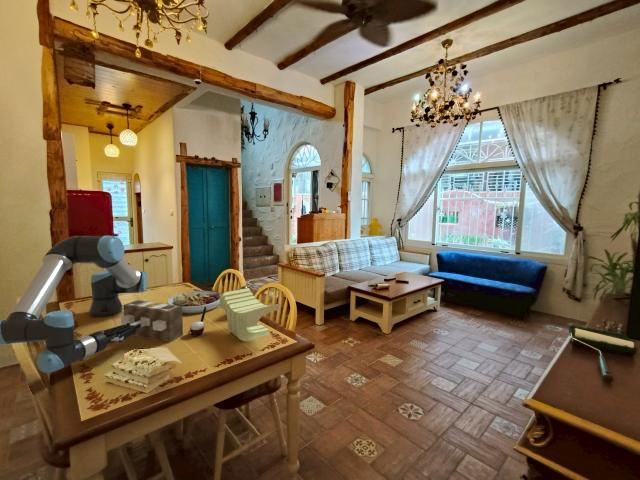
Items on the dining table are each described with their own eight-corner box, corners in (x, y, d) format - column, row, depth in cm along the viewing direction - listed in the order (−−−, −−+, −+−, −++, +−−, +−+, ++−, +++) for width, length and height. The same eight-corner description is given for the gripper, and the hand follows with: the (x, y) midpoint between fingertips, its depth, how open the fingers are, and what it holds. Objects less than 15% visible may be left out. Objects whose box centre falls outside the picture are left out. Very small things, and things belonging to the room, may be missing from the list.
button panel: (124, 333, 140) (123, 303, 138) (139, 327, 148) (138, 298, 146) (170, 342, 133) (168, 310, 131) (182, 334, 141) (182, 305, 139)
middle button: (141, 324, 136) (140, 317, 135) (147, 322, 139) (146, 315, 138) (148, 326, 134) (148, 318, 134) (154, 323, 138) (154, 316, 137)
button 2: (152, 329, 131) (152, 322, 131) (158, 326, 134) (158, 319, 134) (160, 331, 130) (160, 323, 129) (166, 328, 133) (166, 320, 132)
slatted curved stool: (220, 327, 150) (219, 293, 148) (248, 320, 160) (248, 287, 158) (248, 350, 128) (248, 310, 125) (279, 340, 138) (279, 303, 136)
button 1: (121, 323, 136) (120, 316, 136) (127, 321, 139) (127, 314, 139) (128, 325, 135) (128, 318, 134) (134, 322, 138) (134, 315, 137)
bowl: (161, 317, 161) (160, 303, 160) (174, 299, 190) (174, 287, 189) (219, 314, 168) (219, 300, 167) (223, 297, 197) (223, 285, 196)
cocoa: (189, 339, 137) (187, 315, 135) (186, 334, 142) (184, 310, 140) (210, 334, 142) (209, 310, 140) (207, 328, 147) (205, 306, 145)
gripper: (78, 351, 115) (133, 328, 137) (103, 356, 111) (156, 332, 133) (77, 332, 114) (133, 312, 136) (103, 337, 110) (155, 316, 132)
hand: (144, 322), depth 135 cm, fingers closed
